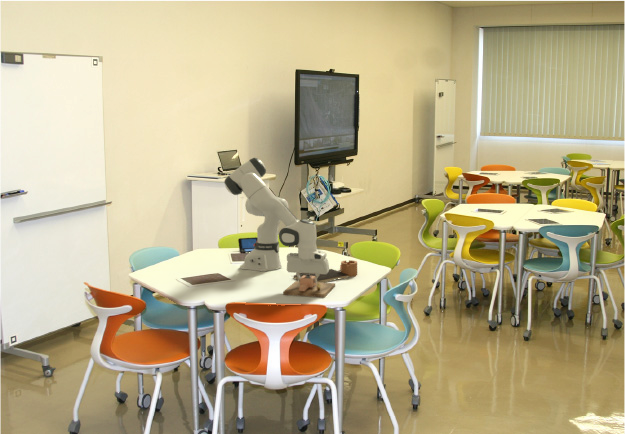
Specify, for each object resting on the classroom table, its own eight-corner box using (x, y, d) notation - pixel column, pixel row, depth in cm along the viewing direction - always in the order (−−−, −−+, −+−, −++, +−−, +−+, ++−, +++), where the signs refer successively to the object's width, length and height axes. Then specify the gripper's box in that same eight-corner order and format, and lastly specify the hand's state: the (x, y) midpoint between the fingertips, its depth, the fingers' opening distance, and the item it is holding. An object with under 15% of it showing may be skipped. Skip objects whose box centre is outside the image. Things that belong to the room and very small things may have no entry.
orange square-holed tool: (295, 290, 328) (295, 282, 328) (303, 283, 341) (303, 275, 340) (308, 291, 327) (307, 283, 326) (315, 284, 339) (315, 276, 338)
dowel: (316, 290, 330) (316, 284, 330) (317, 289, 332) (317, 283, 331) (319, 290, 330) (319, 284, 329) (320, 289, 331) (320, 283, 331)
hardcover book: (348, 279, 359) (348, 274, 358) (310, 286, 346) (310, 281, 346) (330, 272, 372) (330, 268, 371) (293, 279, 360) (293, 275, 359)
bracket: (357, 276, 361) (357, 263, 360) (341, 277, 361) (341, 264, 360) (355, 268, 379) (355, 256, 378) (339, 269, 379) (339, 256, 378)
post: (305, 287, 336) (305, 274, 335) (306, 286, 338) (306, 273, 337) (309, 287, 336) (309, 275, 335) (310, 286, 338) (310, 274, 337)
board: (283, 294, 329) (283, 291, 329) (295, 284, 348) (295, 281, 348) (324, 297, 324) (324, 294, 324) (335, 286, 343) (335, 283, 343)
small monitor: (241, 253, 420) (241, 241, 419) (238, 250, 430) (237, 238, 429) (262, 252, 423) (261, 240, 422) (258, 248, 433) (258, 237, 432)
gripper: (284, 254, 334) (285, 282, 337) (326, 256, 329) (326, 285, 331) (288, 251, 340) (289, 279, 343) (329, 253, 335) (330, 281, 337)
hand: (307, 282), depth 337 cm, fingers closed on orange square-holed tool, 6 cm apart
